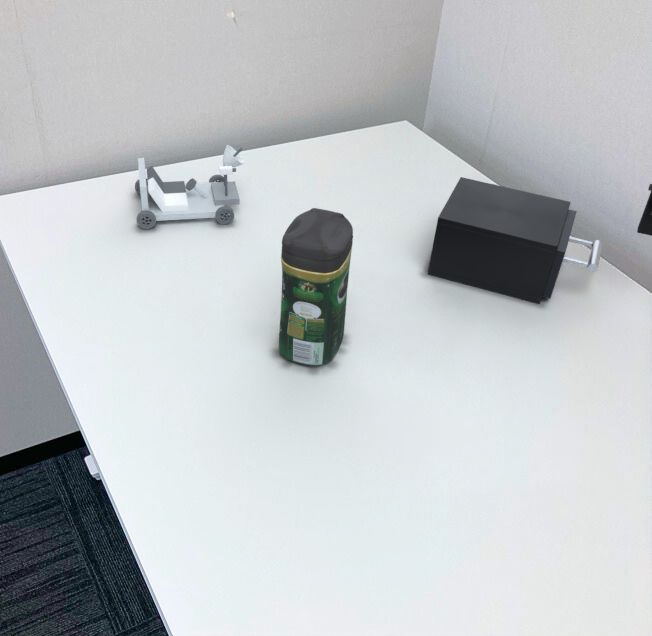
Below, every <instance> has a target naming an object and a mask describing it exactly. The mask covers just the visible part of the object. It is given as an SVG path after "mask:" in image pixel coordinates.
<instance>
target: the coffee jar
mask: <svg viewBox="0 0 652 636" xmlns="http://www.w3.org/2000/svg"><path fill="white" fill-rule="evenodd" d="M353 233H354V228H353V226H352V224H351V222H350V221H349V219H348V218H347V217H346V216H345V215H344V214H343V213H341V212H338V211H333V210H328V209H322V208H316V207H312V208H311V209H309V210H306V211H303V212H302V213H300V214H299V215H297V216H296V217H295V218H294V219H293V220H292V221H291V222H290V224H289V226H288V227H287V228H286V230H285V232H284V234H283V236H282V239H281V255H280V262H281V296H280V298H281V299H280V316H279V317H280V318H279V333H278V351H279V353H280V355H282V357H284V358H285V359H286V360H287V361H290V362H292V363H294V364H297V365H301V366H306V367H321V366H325V365H328V364H330V363H331V362H332V361H333V359H334V358H335V357H336V356H337V354H338V352H339V350H340V348H341V345H342V342H343V340H344V336H345V325H346V310H347V300H348V299H347V298H348V287H349V277H350V268H351V259H352V252H353V251H352V250H353V241H354V234H353Z"/></svg>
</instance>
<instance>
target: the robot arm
mask: <svg viewBox="0 0 652 636" xmlns="http://www.w3.org/2000/svg"><path fill="white" fill-rule="evenodd" d="M647 191H650V192H649V195H648V198H647V201H646V204H645V206H644V209H643V211H642V215H641V217H640V220H639V223H638V226H637V231H636V233H637V234H642V235H647V236H651V237H652V183H649V185H648V189H647Z"/></svg>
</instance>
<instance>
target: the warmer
mask: <svg viewBox="0 0 652 636" xmlns="http://www.w3.org/2000/svg"><path fill="white" fill-rule="evenodd" d="M570 207H571V201H568V200H564V199H559V198H554V197H550V196H547V195H546V196H545V195H542V194H537V193H532V192H528V191H525V190H520V189H515V188H511V187H507V186H502V185H497V184H493V183H488V182H484V181H480V180H475V179H471V178H467V177H463V176H460V178H459V179H458V181H457V182H456V185H455V187H454V188H453V190H452V192H451V193H450V196H449V197H448V199H447V201H446V203H445V204H444V206H443V208H442V210H441V212H440V214H439V215H438V217H437V222H436V226H435V232H434V238H433V243H432V248H431V253H430V259H429V263H428V269H427V275H428V276H432V277H436V278H440V279H444V280H447V281H451V282H455V283H459V284H462V285H466V286H469V287H470V286H471V287H473V288H477V289H481V290H485V291H489V292H492V293H496V294H500V295H504V296H508V297H512V298H516V299H519V300H523V301H526V302H530V303H535V304H537V305H540V304H541V301H542V299H543V297H542V295H543V292H544V289H545V286H546V282H547V279H548V276H549V273H550V270H551V267H552V263H553V260H554V257H555V254H556V251H557V248H558V244H559V241H560V237H561V234H562V230H563V227H564V224H565V220H566V217H567V213H568V210H570Z"/></svg>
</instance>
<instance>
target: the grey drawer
mask: <svg viewBox="0 0 652 636" xmlns="http://www.w3.org/2000/svg"><path fill="white" fill-rule="evenodd" d="M576 215H577V210H573V209H569V210H568V213H567V217H566V220H565V224H564V227H563V230H562V234H561V237H560V241H559V244H558V248H557V251H556V254H555V257H554V260H553V263H552V267H551V270H550V273H549V276H548V279H547V282H546V286H545V289H544V292H543V295H542V298H545V299H548V300H549V299H550V300H551V298H552V295H553V292H554V289H555V286H556V284H557V280H558V277H559V274H560V272H561V271H560V270H561V267H562V265H563V263H566V264H571V265H575V266H579V267H583V268H586V269H587V271H588V272H590V273H595V272H597V271H598V269H599V264H600V260H601V256H602V251H603V246H604V245H603V244H604V243H603V241H601V240H600V239H594V241H590V240H586V239H582V238H578V237H573V236H571V234H572V231H573V226H574V222H575V220H576ZM569 243H573V244H577V245H581V246H585V247H589V248H591V249H590V254H589V258H588V261H585V260H580V259H577V258H572V257H569V256H566V253H567V248H568V244H569Z"/></svg>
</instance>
